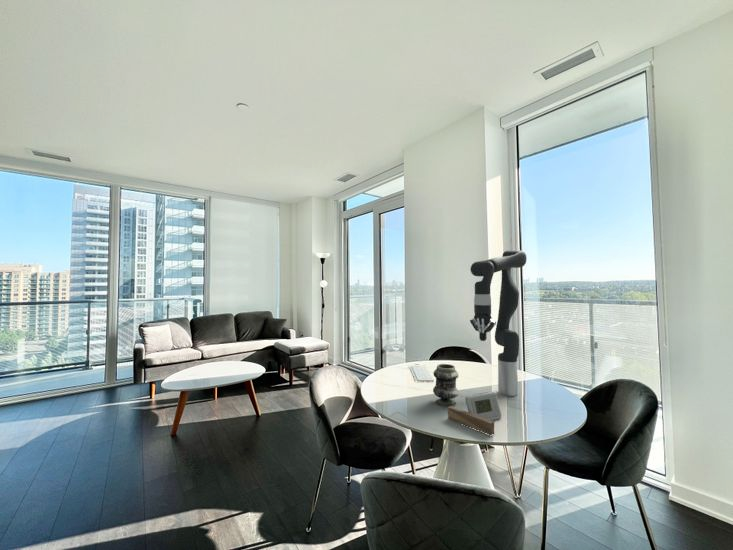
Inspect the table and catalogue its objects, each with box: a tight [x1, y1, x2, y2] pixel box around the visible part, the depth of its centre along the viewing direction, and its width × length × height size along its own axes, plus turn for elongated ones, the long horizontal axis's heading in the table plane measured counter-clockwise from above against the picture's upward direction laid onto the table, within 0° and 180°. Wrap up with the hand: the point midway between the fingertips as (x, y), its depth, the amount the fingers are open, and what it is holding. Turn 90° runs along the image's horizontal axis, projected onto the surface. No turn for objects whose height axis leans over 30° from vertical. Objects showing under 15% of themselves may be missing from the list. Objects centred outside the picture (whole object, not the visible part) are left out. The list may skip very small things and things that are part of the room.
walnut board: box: [447, 406, 495, 435], centre depth 134 cm, size 2×20×5 cm, turn 39°
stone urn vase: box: [432, 363, 460, 408], centre depth 159 cm, size 12×12×18 cm
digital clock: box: [465, 391, 502, 421], centre depth 140 cm, size 16×9×11 cm, turn 101°
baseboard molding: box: [409, 363, 435, 382], centre depth 207 cm, size 31×3×12 cm
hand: (482, 340), depth 154 cm, fingers closed
